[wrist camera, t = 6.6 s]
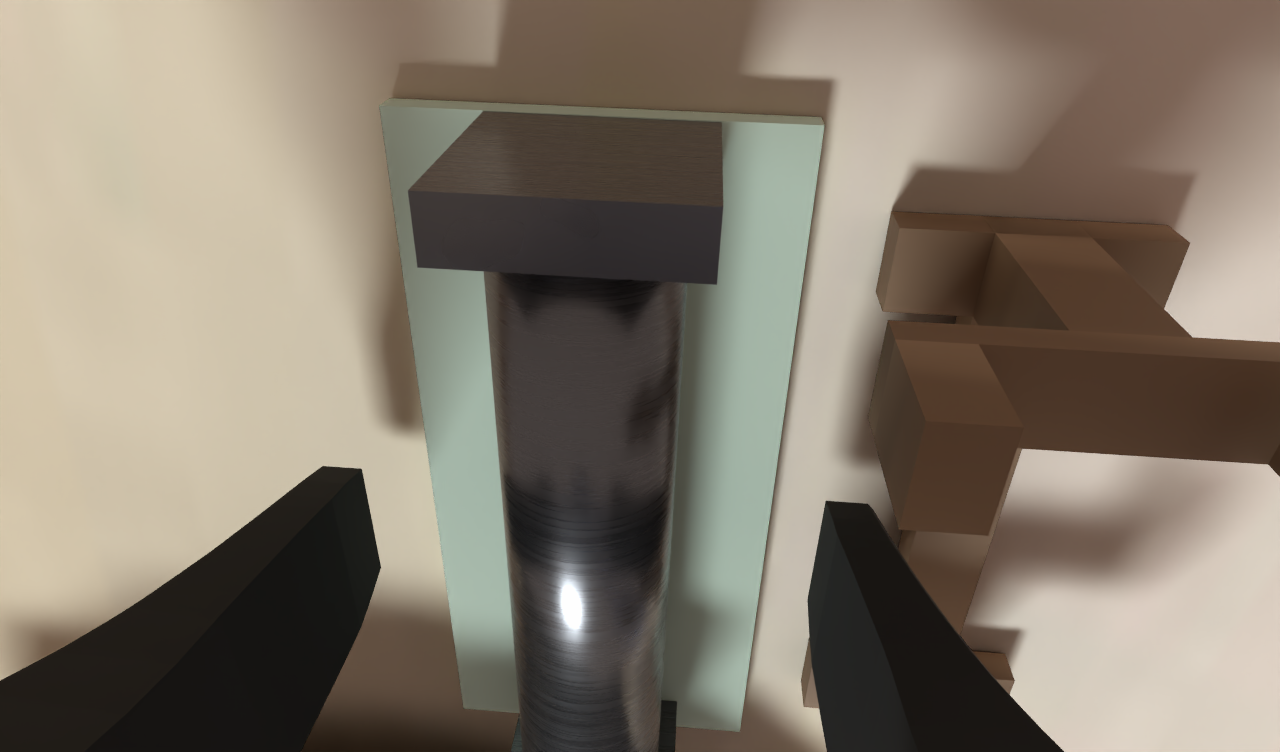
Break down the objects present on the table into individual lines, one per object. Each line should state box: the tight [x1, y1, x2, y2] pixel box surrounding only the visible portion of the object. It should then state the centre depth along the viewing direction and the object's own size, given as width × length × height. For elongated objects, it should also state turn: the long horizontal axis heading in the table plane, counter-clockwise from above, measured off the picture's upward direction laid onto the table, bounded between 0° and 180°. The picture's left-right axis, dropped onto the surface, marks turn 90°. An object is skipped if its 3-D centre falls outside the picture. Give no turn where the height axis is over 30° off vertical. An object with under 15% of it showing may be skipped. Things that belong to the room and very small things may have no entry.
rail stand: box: [801, 211, 1280, 708], centre depth 11 cm, size 10×5×5 cm, turn 179°
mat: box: [379, 98, 825, 732], centre depth 14 cm, size 12×6×1 cm, turn 179°
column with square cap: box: [408, 111, 723, 752], centre depth 12 cm, size 12×3×3 cm, turn 178°
